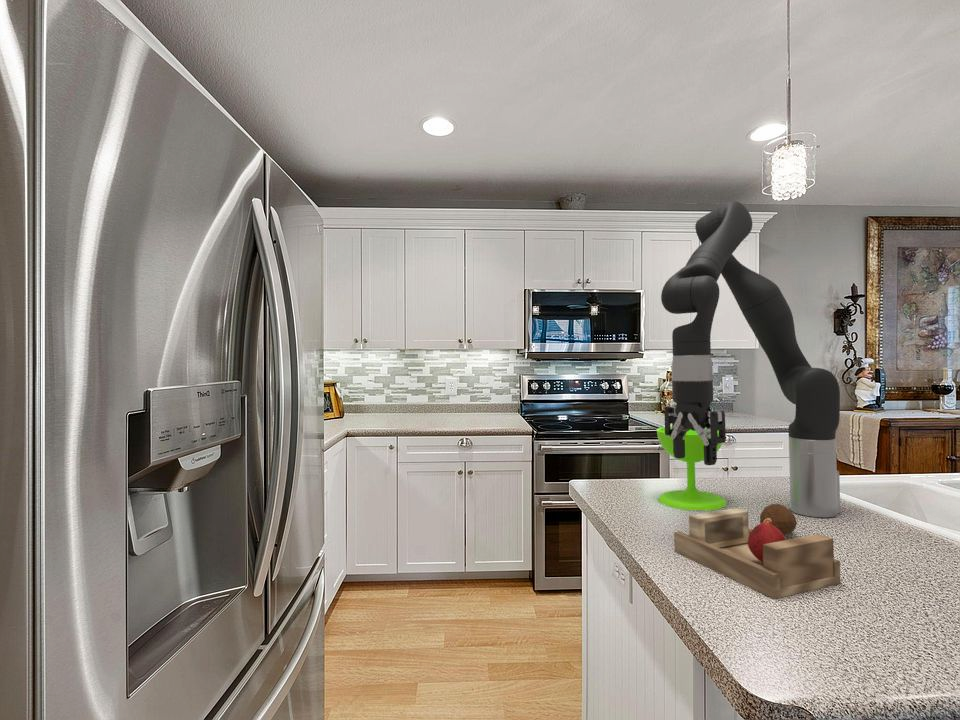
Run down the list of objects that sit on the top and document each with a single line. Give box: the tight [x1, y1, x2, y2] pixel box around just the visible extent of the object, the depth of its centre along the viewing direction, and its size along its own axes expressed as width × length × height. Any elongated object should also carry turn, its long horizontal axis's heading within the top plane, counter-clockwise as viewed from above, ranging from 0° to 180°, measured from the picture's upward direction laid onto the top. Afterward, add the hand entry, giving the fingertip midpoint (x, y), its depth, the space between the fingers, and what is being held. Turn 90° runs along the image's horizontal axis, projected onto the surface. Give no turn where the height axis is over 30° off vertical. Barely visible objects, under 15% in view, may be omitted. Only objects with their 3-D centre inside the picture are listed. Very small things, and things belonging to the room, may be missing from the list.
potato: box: [759, 503, 798, 536], centre depth 109 cm, size 7×10×6 cm
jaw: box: [688, 507, 750, 548], centre depth 100 cm, size 12×2×6 cm, turn 110°
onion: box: [748, 518, 787, 563], centre depth 90 cm, size 6×6×8 cm
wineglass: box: [656, 426, 727, 511], centre depth 135 cm, size 16×16×18 cm
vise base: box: [673, 528, 841, 600], centre depth 93 cm, size 14×22×7 cm, turn 20°
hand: (694, 461), depth 106 cm, fingers open, 7 cm apart
